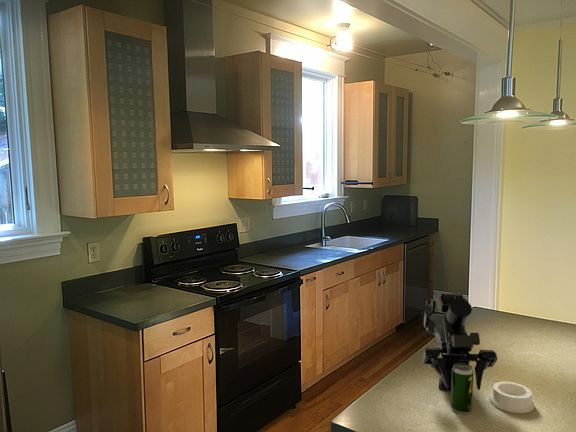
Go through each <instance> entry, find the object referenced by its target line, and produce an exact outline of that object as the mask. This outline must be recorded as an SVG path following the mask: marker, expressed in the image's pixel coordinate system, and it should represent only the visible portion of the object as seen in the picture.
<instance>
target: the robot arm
mask: <svg viewBox="0 0 576 432" xmlns="http://www.w3.org/2000/svg"><path fill="white" fill-rule="evenodd" d="M435 311H436V312H437V311H439V312H440V313H446V314H437V313H435V314H434V312H435ZM472 311H473V309H472V305H471V304H470V302H469V301H468V300H467V299H466V298H465V296H464V295H463V294H462V293H457V292H454V293H453V292H440V293H439V294H438V296H437V298H436V297H435V298H432V299H431V300H430V305H428V307H427V308H426V309H425V310H424V314H423V327H424V328H425V330H426V331H427V332H428V333H429V334H433V335H434V336H435V339H436V341H437V343H438V347H428V346H427V347H425V349H424V351H423V354H422V364H423V365H430V367H431V368H434V369H435V370H436V372H437V374H438V375H439V377H440V378H439V381H438V389H439V390H442V391H443V390H444V391H451V385H452V368H453V365H454V364H455V363H465V364H468V365H470V362H475V366H474V375H475V384H476V388H477V390H478V391H480V390H481V387H482V386H481V385H482V380H483V375H484V370H485V371H486V370H487V368H493V367H494V366H495V364H496V363H497V361H498V354H497V352H496V351H495V350H493V349H480V350H479V351H478V353H470V352H472V349H474V346H479V345H480V344H481V342H480V341H481V340H480V334H479V332H470V333H469V334H468V332H467V330H466V329H467V328H466V324H467V322H468V320H469V318H470V316H471V313H472Z"/></svg>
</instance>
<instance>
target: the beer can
mask: <svg viewBox="0 0 576 432" xmlns="http://www.w3.org/2000/svg"><path fill="white" fill-rule="evenodd" d="M474 375H475V371H474V368H473V366H472V365H471V364H469V365H468V364H465V363H455V364H454V365H453V368H452V385H451V392H450V407H451V411H453V412H454V413H457V414H460V415H468V414H470V413H471V412H472V409H473V397H474V395H473V394H474Z"/></svg>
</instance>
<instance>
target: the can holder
mask: <svg viewBox="0 0 576 432" xmlns="http://www.w3.org/2000/svg"><path fill="white" fill-rule="evenodd" d="M532 398H533V393H532V390H531V389H530V388H528V387H527V386H525V385H523V384H519V383H517V382H512V381H507V380H506V381H505V380H504V381H498V382H496V383H494V384H493V386H492V392H491V393H490V394H489V401H490V403H491V405H493V407H495V408H497V409H498V410H501V411H503V412H506V413H511V414H517V415H525V414H530V413H532V412H534V410H535V409H534V408H535V402H534V401H533V399H532Z"/></svg>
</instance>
